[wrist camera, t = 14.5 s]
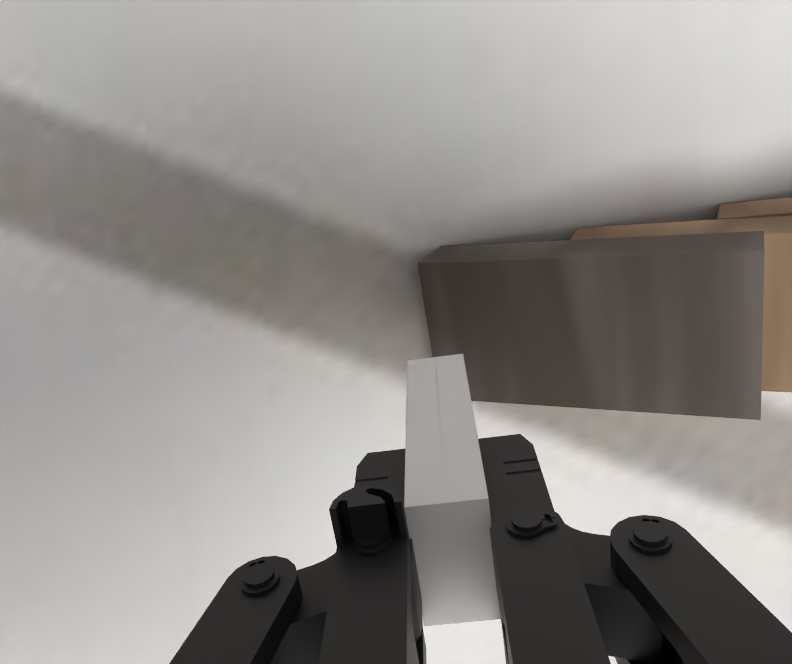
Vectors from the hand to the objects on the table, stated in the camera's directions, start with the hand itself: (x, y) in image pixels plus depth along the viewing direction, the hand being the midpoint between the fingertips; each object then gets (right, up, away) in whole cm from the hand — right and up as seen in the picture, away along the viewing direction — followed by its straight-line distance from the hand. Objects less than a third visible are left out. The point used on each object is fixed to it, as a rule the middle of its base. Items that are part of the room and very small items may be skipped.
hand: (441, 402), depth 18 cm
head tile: (0, +2, +6) cm, 6 cm away
